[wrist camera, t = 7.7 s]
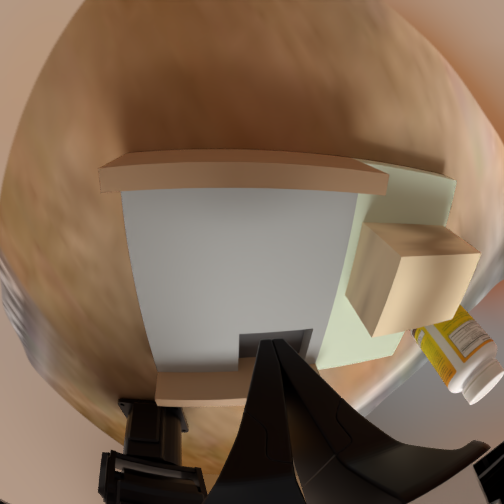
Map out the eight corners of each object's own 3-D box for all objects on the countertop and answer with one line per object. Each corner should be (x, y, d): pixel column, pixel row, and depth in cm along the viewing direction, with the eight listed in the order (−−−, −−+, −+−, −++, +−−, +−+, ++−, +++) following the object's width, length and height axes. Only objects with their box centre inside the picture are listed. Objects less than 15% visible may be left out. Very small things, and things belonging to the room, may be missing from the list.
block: (442, 225, 16) (481, 253, 12) (422, 286, 18) (452, 318, 14) (362, 222, 15) (401, 256, 11) (344, 295, 17) (371, 337, 13)
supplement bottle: (424, 339, 24) (472, 409, 15) (398, 329, 22) (452, 415, 13) (457, 298, 22) (515, 365, 13) (436, 282, 20) (506, 361, 11)
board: (161, 364, 20) (157, 405, 17) (127, 153, 13) (98, 168, 9) (385, 344, 23) (404, 375, 19) (443, 174, 15) (483, 193, 12)
